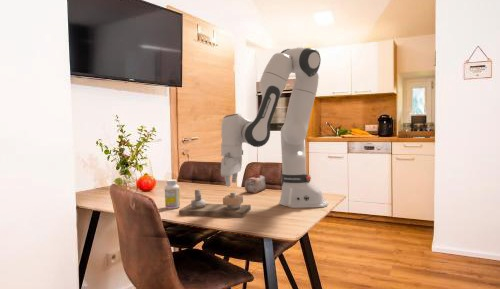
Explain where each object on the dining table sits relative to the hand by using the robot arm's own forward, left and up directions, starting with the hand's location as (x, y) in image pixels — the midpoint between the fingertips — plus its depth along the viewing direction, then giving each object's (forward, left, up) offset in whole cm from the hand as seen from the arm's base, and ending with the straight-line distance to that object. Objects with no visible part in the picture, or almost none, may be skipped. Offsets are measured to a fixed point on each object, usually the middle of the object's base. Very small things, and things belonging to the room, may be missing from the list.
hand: (231, 184), depth 153 cm
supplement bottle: (+30, -6, -13) cm, 34 cm away
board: (+7, 0, -12) cm, 14 cm away
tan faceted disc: (-1, 0, -8) cm, 8 cm away
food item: (0, -50, -13) cm, 52 cm away
